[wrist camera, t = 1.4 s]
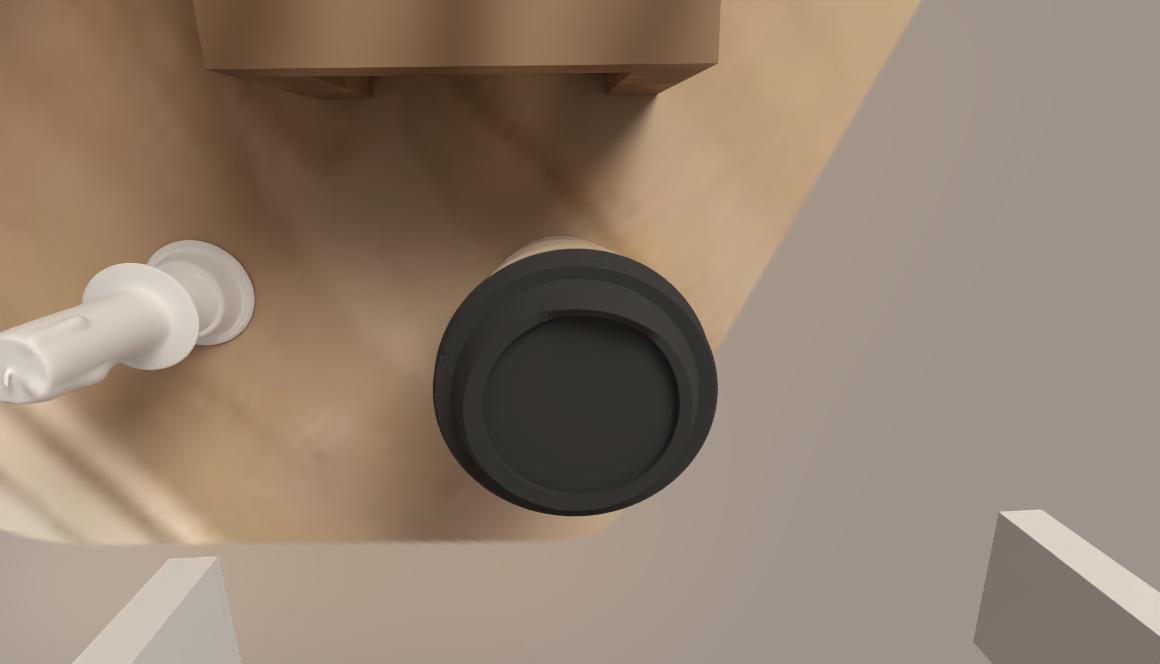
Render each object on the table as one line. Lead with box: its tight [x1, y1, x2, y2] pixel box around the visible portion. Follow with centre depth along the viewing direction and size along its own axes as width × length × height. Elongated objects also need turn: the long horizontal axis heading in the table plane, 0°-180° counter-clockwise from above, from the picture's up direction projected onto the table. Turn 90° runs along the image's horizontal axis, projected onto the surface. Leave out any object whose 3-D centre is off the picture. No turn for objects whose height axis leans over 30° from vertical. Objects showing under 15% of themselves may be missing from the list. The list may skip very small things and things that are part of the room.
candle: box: [0, 240, 255, 404], centre depth 24 cm, size 5×5×12 cm
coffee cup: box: [433, 235, 718, 516], centre depth 24 cm, size 9×9×15 cm
